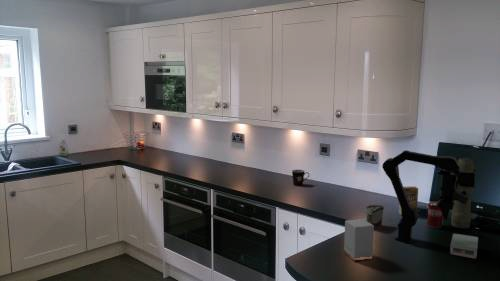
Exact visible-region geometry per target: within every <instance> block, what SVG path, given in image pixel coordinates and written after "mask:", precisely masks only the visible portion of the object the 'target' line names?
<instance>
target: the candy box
mask: <svg viewBox="0 0 500 281" xmlns="http://www.w3.org/2000/svg"><path fill="white" fill-rule="evenodd" d="M403 187H404V190H405V193H406V195H407V198H408V201H409V203H410V205H411V206H412V208H413V207H416V211H417V212H418V198H419V188H418V187H417V186H403ZM398 214H400V215H401V216H402V212H401V206H400V204H399V203H398Z"/></svg>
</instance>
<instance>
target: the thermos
mask: <svg viewBox="0 0 500 281" xmlns="http://www.w3.org/2000/svg"><path fill="white" fill-rule="evenodd" d="M457 165H458V166H459V167H460V169H461V171H466V172H475V182H476V179H477V169H476V167H475V164H474V160H473V159H472V158H469V157H460V158H458V160H457ZM457 180H458V176H456V184H455V187H456V191H460V192H461V191H463V190H465V191H467V195H468V196H469V199H468V201H467V203H466V204H462V203H461V202H459V201H457V200H456V201H453V203H455V204H454V207H453V210H451V216H450V217H451V218H450V219H451V223H450V225H451V226H452V227H455V228H458V229H469V228H470V226H471V221H472V213H471V206H472V195H473V194H474V188H475V187H476V184H475V185H474V188H471V187H462V186H460V185H459V184H457Z"/></svg>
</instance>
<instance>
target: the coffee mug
mask: <svg viewBox="0 0 500 281" xmlns="http://www.w3.org/2000/svg"><path fill="white" fill-rule="evenodd" d="M291 173H292V183H293V185H292V186H294V187H302V186H303V185H304V181H306V180H307V179H308V178H309V177H310V173H309V172H305V169H292V170H291ZM306 174H308V176H307V177H306V178H305V175H306Z"/></svg>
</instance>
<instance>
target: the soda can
mask: <svg viewBox="0 0 500 281" xmlns="http://www.w3.org/2000/svg"><path fill="white" fill-rule="evenodd" d="M437 203H438V201H429V203H428V206H427V207H428V208H427V221H426V225H427V227H430V228H433V229H441V228H442V227H443V223H444V217H443V214H442V212H441V209H440V208H437Z"/></svg>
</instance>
